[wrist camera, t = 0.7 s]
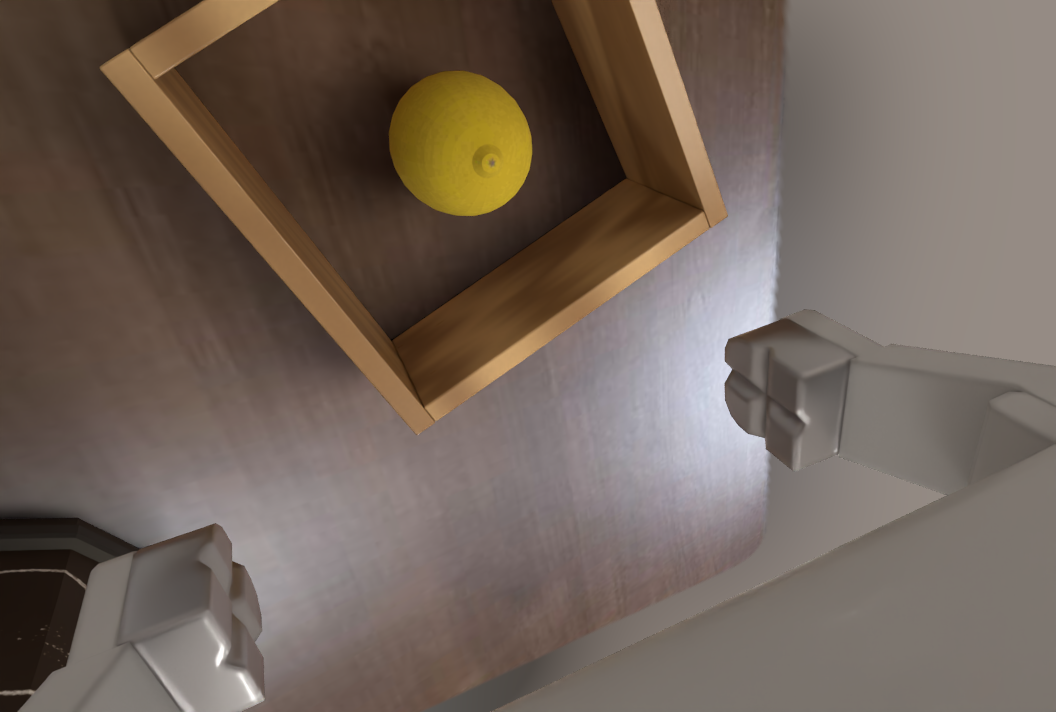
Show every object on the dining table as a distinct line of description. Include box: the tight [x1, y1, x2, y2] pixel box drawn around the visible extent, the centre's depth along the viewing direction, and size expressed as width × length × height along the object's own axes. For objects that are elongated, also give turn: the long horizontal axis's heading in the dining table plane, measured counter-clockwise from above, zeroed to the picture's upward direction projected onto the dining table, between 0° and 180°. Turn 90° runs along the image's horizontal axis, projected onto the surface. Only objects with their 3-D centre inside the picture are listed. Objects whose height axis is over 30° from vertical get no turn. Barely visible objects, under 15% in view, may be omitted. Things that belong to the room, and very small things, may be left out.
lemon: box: [389, 71, 532, 216], centre depth 27 cm, size 6×6×8 cm
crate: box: [99, 0, 728, 435], centre depth 27 cm, size 17×17×7 cm
